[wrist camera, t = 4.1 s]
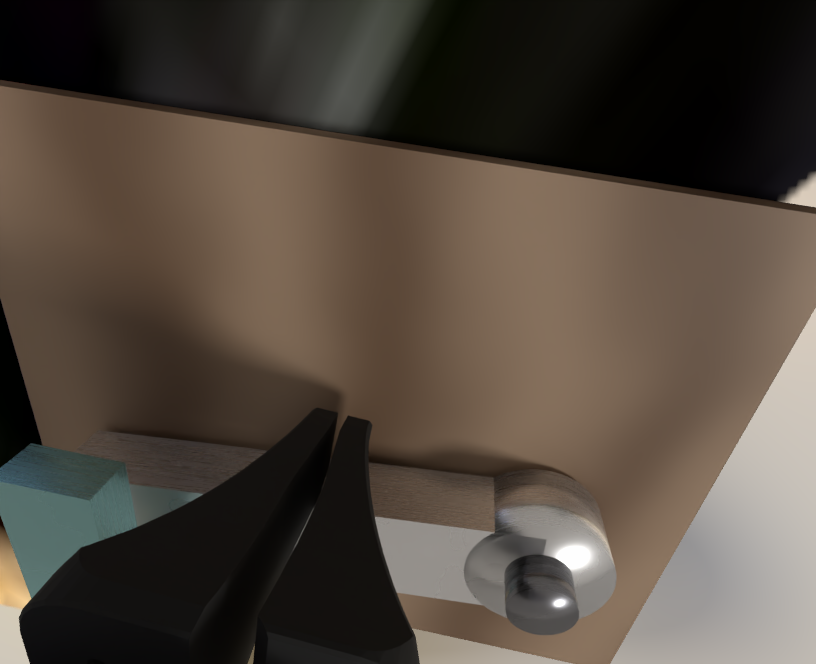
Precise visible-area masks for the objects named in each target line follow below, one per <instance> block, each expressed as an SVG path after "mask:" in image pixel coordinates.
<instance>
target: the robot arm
mask: <svg viewBox="0 0 816 664" xmlns="http://www.w3.org/2000/svg"><path fill="white" fill-rule="evenodd" d="M337 417H338V413H337V412H333V411H329V410H325V409H321V408H318V407H317V408H315V409H313V410H312V411H311V412H310V413H309V414H308V415H307V416H306V417H305V418H304V419H303V420H302V421H301V422H300V423H299V424H298V425H297V426H296V427H295V428H294V429H292V430H291V431H290V432H289V433H288V434H287V435H286V436H285V437H283V438H282V439H281V440H280V441H279V442H277V443H276V444H275V445H274V446H273V447H271V448H270V449H269V450H268V451H267V452H265V453H264V454H263V455H261V456H260V457H259V458H257V459H256V460H255V461H253V462H252V463H251V464H249V465H248V466H247V467H245V468H244V469H243V470H241V471H240V472H238V473H237V474H235V475H234V476H232V477H231V478H229V479H228V480H226V481H225V482H223V483H221V484H220V485H218V486H217V487H215V488H213V489H212V490H210V491H208V492H206V493H205V494H203V495H201V496H199V497H198V498H196V499H194V500H192V501H190V502H189V503H187V504H185V505H183V506H181V507H179V508H177V509H175V510H173V511H171V512H169V513H167V514H164V515H162V516H160V517H158V518H156V519H153V520H151V521H149V522H147V523H145V524H142V525H140V526H138V527H136V528H133V529H131V530H128V531H126V532H123V533H120V534H117V535H115V536H112V537H109V538H106V539H104V540H101V541H98V542H95V543H93V544H90V545H87V546H84V547H81V548H80V549H79V550H78V551H77V552H76V553H75V554H74V555H73V556H72V557H70V558H69V559H68V560H67V561H66V562H65V563H64V564H63V565H62V566H61V567H60V568H59V569H58V570H57V571H56V572H55V573H54V574H53V575H52V576H51V577H50V579H49V580H48V581H47V582H46V583H45V584H44V585H43V587H42V588H41V589H40V590H39V591H38V592H37V593H36V594H35V596H34V597H33V598H32V599H31V600H30V601H29V602H28V604H27V605H26V606H25V607H24V608H23V610H22V612H21V615H20V616H19V623H20V632H21V636H22V639H23V642H24V646H25V649H26V652H27V656H28V659H29V662H30V664H247V663H248V660H249V658H250V655H251V652H252V650H253V647H254V644H255V650H254V662H253V664H420V663H419V656H418V650H417V644H416V637H415V634H414V632H413V630H412V628H411V626H410V624H409V621H408V619H407V617H406V615H405V612H404V610H403V608H402V605H401V603H400V600H399V597H398V595H397V592H396V590H395V587H394V584H393V581H392V578H391V575H390V572H389V569H388V566H387V563H386V560H385V557H384V553H383V550H382V546H381V542H380V538H379V534H378V530H377V525H376V521H375V515H374V510H373V504H372V496H371V489H370V478H369V458H368V455H369V440H370V435H371V430H372V426H373V425H372V424H371V422H370V421H369V420H365V419H361V418H357V417H353V416H349V415H348V416H347V418H346V420H345V422H344V423H343V425H342V427H341V429H340V431H339V435H338V438H337V441H336V445H335V448H334V451H333V455H332V458H331V453H332V447H333V441H334V435H335V429H336V423H337ZM330 459H331V462H330ZM325 478H326V479H325ZM324 480H325V482H324ZM323 483H324V485H323ZM322 486H323V488H322ZM321 489H322V490H321ZM320 492H321V493H320ZM319 494H320V496H319ZM318 497H319V498H318ZM315 504H316V505H315ZM314 506H315V507H314ZM313 508H314V509H313ZM312 510H313V511H312ZM309 517H310V518H309ZM308 519H309V520H308ZM307 521H308V522H307ZM306 523H307V524H306ZM305 525H306V526H305ZM304 527H305V528H304ZM303 529H304V530H303ZM302 531H303V532H302ZM301 533H302V534H301ZM300 535H301V536H300ZM299 537H300V538H299ZM298 539H299V540H298ZM297 541H298V542H297ZM296 543H297V544H296ZM295 545H296V546H295Z"/></svg>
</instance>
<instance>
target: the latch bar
mask: <svg viewBox="0 0 816 664" xmlns="http://www.w3.org/2000/svg"><path fill="white" fill-rule="evenodd" d="M267 451H268V450H261V449H252V448H244V447H235V446H227V445H219V444H210V443H202V442H194V441H185V440H177V439H168V438H160V437H152V436H143V435H135V434H126V433H118V432H110V431H101V430H98V431H97V432H95V433H94V434H93V435H92V436H91V437H90V438H89V439H88V440H87V441H86V442H84V443H83V444H82V445H81V446H80V447H79V448H78V449H77V450H76V451H75V452H76V453H81V454H86V455H91V456H95V457H100V458H105V459H110V460H115V461H120V462H125V464H126V469H127V474H128V480H129V485H130V490H131V495H132V501H133V506H134V511H135V517H136V522H137V527H138V526H140V525H142V524H145V523H147V522H149V521H151V520H153V519H156V518H158V517H160V516H162V515H164V514H167V513H169V512H171V511H173V510H175V509H177V508H179V507H181V506H183V505H185V504H187V503H189V502H190V501H192V500H194V499H196V498H198V497H199V496H201V495H203V494H205V493H206V492H208V491H210V490H212V489H213V488H215V487H217V486H218V485H220V484H221V483H223V482H225V481H226V480H228V479H229V478H231V477H232V476H234V475H235V474H237V473H238V472H240V471H241V470H243V469H244V468H245V467H247V466H248V465H249V464H251V463H252V462H253V461H255V460H256V459H257V458H259V457H260V456H261V455H263V454H264V453H265V452H267ZM330 462H331V459H330ZM369 478H370V489H371V496H372V504H373V510H374V515H375V521H376V525H377V530H378V534H379V538H380V542H381V546H382V550H383V553H384V557H385V560H386V563H387V566H388V569H389V572H390V575H391V578H392V581H393V584H394V587H395V590H396V592H397V593H403V594H410V595H417V596H423V597H430V598H437V599H444V600H450V601H457V602H464V603H471V604H477V605H484V606H485V607H486V608H488V609H490V610H491V611H493V612H495V613H497V614H499V615H501V616H503V617H506V618H508V619H509V621H510V622H511V623H512V624H513V625H514V626H516V627H517V628H519V629H520V630H523V631H525V632H528V633H531V634H536V635H555V634H560V633H563V632H565V631H567V630H569V629H571V628H572V627H573V626H574V625H575V624H576V623H577V621H578V619H581V618H583V617H585V616H588V615H590V614H592V613H593V612H595V611H597V610H598V609H599V608H601V607H602V606H603V605H604V604H605V603H606V602H607V601H608V600H609V598H610V597H611V595H612V594H613V591H614V589H615V586H616V576H617V575H616V570H615V566H614V562H613V558H612V554H611V551H610V547H609V543H608V539H607V535H606V532H605V528H604V524H603V520H602V517H601V513H600V509H599V507H598V504H597V502H596V500H595V498H594V497H593V496H592V494H591V493H590V492H589V491H588V490H587V489H586V488H585V487H584V486H583V485H581V484H580V483H578V482H577V481H575V480H573V479H571V478H569V477H567V476H565V475H562V474H559V473H556V472H552V471H546V470H538V469H523V470H515V471H510V472H506V473H503V474H500V475H497V476H495V477H487V476H479V475H470V474H462V473H453V472H445V471H437V470H428V469H420V468H412V467H403V466H395V465H386V464H378V463H370V462H369ZM325 479H326V478H325ZM324 482H325V480H324ZM323 485H324V483H323ZM322 488H323V486H322ZM321 490H322V489H321ZM320 493H321V492H320ZM319 496H320V494H319ZM318 498H319V497H318ZM315 505H316V504H315ZM314 507H315V506H314ZM313 509H314V508H313ZM312 511H313V510H312ZM309 518H310V517H309ZM308 520H309V519H308ZM307 522H308V521H307ZM306 524H307V523H306ZM305 526H306V525H305ZM304 528H305V527H304ZM303 530H304V529H303ZM302 532H303V531H302ZM301 534H302V533H301ZM300 536H301V535H300ZM299 538H300V537H299ZM298 540H299V539H298ZM297 542H298V541H297ZM296 544H297V543H296ZM295 546H296V545H295Z"/></svg>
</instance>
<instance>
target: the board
mask: <svg viewBox="0 0 816 664" xmlns="http://www.w3.org/2000/svg"><path fill="white" fill-rule="evenodd" d="M0 299H1V302H2V306H3V309H4V313H5V316H6V320H7V323H8V327H9V330H10V333H11V337H12V340H13V344H14V347H15V351H16V354H17V358H18V361H19V365H20V368H21V372H22V375H23V378H24V382H25V385H26V389H27V392H28V396H29V399H30V403H31V406H32V410H33V413H34V417H35V420H36V423H37V427H38V430H39V434H40V437H41V441H42V444H43V446H47V447H52V448H57V449H61V450H66V451H71V452H75V451H76V450H77V449H78V448H79V447H80V446H81V445H82V444H83V443H84V442H86V441H87V440H88V439H89V438H90V437H91V436H92V435H93V434H94V433H95V432H97V431H98V430H101V431H110V432H118V433H126V434H135V435H143V436H152V437H160V438H168V439H177V440H185V441H194V442H202V443H210V444H219V445H227V446H235V447H244V448H252V449H261V450H269V449H270V448H271V447H273V446H274V445H275V444H276V443H277V442H279V441H280V440H281V439H282V438H283V437H285V436H286V435H287V434H288V433H289V432H290V431H291V430H292V429H294V428H295V427H296V426H297V425H298V424H299V423H300V422H301V421H302V420H303V419H304V418H305V417H306V416H307V415H308V414H309V413H310V412H311V411H312V410H313V409H315V408H317V407H318V408H321V409H325V410H329V411H333V412H337V413H338V417H337V423H336V429H335V435H334V441H333V447H332V453H331V458H332V455H333V451H334V448H335V445H336V441H337V438H338V435H339V431H340V429H341V427H342V425H343V423H344V422H345V420H346V418H347V416H348V415H349V416H353V417H357V418H361V419H365V420H369V421H370V422H371V424H372V425H373V426H372V430H371V435H370V440H369V455H368V458H369V462H370V463H378V464H386V465H395V466H403V467H412V468H420V469H428V470H437V471H445V472H453V473H462V474H470V475H479V476H487V477H495V476H497V475H500V474H503V473H506V472H510V471H515V470H523V469H538V470H546V471H552V472H556V473H559V474H562V475H565V476H567V477H569V478H571V479H573V480H575V481H577V482H578V483H580V484H581V485H583V486H584V487H585V488H586V489H587V490H588V491H589V492H590V493H591V494H592V496H593V497H594V498H595V500H596V502H597V504H598V507H599V509H600V513H601V517H602V520H603V524H604V528H605V532H606V535H607V539H608V543H609V547H610V551H611V554H612V558H613V562H614V566H615V570H616V575H617V576H616V586H615V589H614V591H613V594H612V595H611V597H610V598H609V600H608V601H607V602H606V603H605V604H604V605H603V606H602V607H601V608H599V609H598V610H597V611H595V612H593V613H592V614H590V615H588V616H585V617H583V618H581V619H578V621H577V623H576V624H575V625H574V626H573V627H572V628H571V629H569V630H567V631H565V632H563V633H560V634H555V635H536V634H531V633H528V632H525V631H523V630H520V629H519V628H517V627H516V626H514V625H513V624H512V623H511V622H510V621H509V619H508V618H506V617H503V616H501V615H499V614H497V613H495V612H493V611H491V610H490V609H488V608H486V607H485V606H484V605H477V604H471V603H464V602H457V601H450V600H444V599H437V598H430V597H423V596H417V595H410V594H403V593H397V595H398V597H399V600H400V603H401V605H402V608H403V610H404V612H405V615H406V617H407V619H408V621H409V624H410V626H411V628H414V629H419V630H423V631H428V632H433V633H437V634H442V635H447V636H450V637H455V638H460V639H464V640H469V641H473V642H478V643H483V644H487V645H492V646H496V647H501V648H505V649H510V650H514V651H519V652H523V653H528V654H532V655H537V656H542V657H546V658H551V659H555V660H560V661H564V662H569V663H573V664H610V663H611V661H612V659H613V657H614V656H615V654H616V652H617V651H618V649H619V647H620V646H621V644H622V642H623V640H624V639H625V637H626V635H627V633H628V632H629V630H630V628H631V626H632V625H633V623H634V621H635V619H636V618H637V616H638V614H639V613H640V611H641V609H642V607H643V606H644V604H645V602H646V600H647V599H648V597H649V595H650V594H651V592H652V590H653V588H654V587H655V585H656V583H657V581H658V580H659V578H660V576H661V574H662V573H663V571H664V569H665V567H666V566H667V564H668V562H669V561H670V559H671V557H672V555H673V554H674V552H675V550H676V548H677V547H678V545H679V543H680V541H681V540H682V538H683V536H684V535H685V533H686V531H687V529H688V528H689V526H690V524H691V522H692V521H693V519H694V517H695V515H696V514H697V512H698V510H699V509H700V507H701V505H702V503H703V502H704V500H705V498H706V496H707V495H708V493H709V491H710V489H711V488H712V486H713V484H714V483H715V481H716V479H717V477H718V476H719V474H720V472H721V470H722V469H723V467H724V465H725V464H726V462H727V460H728V458H729V457H730V455H731V453H732V451H733V450H734V448H735V446H736V444H737V443H738V441H739V439H740V438H741V436H742V434H743V432H744V431H745V429H746V427H747V425H748V423H749V422H750V420H751V418H752V417H753V415H754V413H755V412H756V410H757V408H758V406H759V405H760V403H761V401H762V399H763V398H764V396H765V394H766V392H767V391H768V389H769V387H770V385H771V384H772V382H773V380H774V379H775V377H776V375H777V373H778V372H779V370H780V368H781V366H782V364H783V363H784V361H785V359H786V358H787V356H788V354H789V352H790V351H791V349H792V347H793V346H794V344H795V342H796V340H797V339H798V337H799V335H800V333H801V332H802V330H803V328H804V327H805V325H806V323H807V321H808V320H809V318H810V316H811V314H812V313H813V311H814V309H815V308H816V208H815V207H809V206H802V205H796V204H790V203H783V202H777V201H771V200H764V199H758V198H751V197H745V196H739V195H732V194H726V193H719V192H713V191H707V190H700V189H694V188H687V187H681V186H675V185H668V184H662V183H656V182H649V181H643V180H636V179H630V178H624V177H617V176H611V175H604V174H598V173H592V172H585V171H579V170H572V169H566V168H560V167H553V166H547V165H540V164H534V163H528V162H521V161H515V160H508V159H502V158H496V157H489V156H483V155H476V154H470V153H464V152H457V151H451V150H444V149H438V148H432V147H425V146H419V145H412V144H406V143H400V142H393V141H387V140H380V139H374V138H368V137H361V136H355V135H348V134H342V133H336V132H329V131H323V130H316V129H310V128H304V127H297V126H291V125H284V124H278V123H272V122H265V121H259V120H252V119H246V118H240V117H233V116H227V115H221V114H214V113H208V112H201V111H195V110H189V109H182V108H176V107H169V106H163V105H157V104H150V103H144V102H137V101H131V100H125V99H118V98H112V97H105V96H99V95H93V94H86V93H80V92H73V91H67V90H61V89H54V88H48V87H41V86H35V85H29V84H22V83H16V82H9V81H3V80H0Z"/></svg>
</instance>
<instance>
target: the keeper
mask: <svg viewBox="0 0 816 664" xmlns="http://www.w3.org/2000/svg"><path fill="white" fill-rule="evenodd" d="M0 515H1V518H2V521H3V523H4V526H5V529H6V531H7V534H8V537H9V539H10V542H11V545H12V548H13V550H14V553H15V556H16V558H17V561H18V564H19V566H20V569H21V572H22V574H23V577H24V580H25V582H26V585H27V588H28V590H29V593H30V596H31V598H33V597H34V596H35V594H36V593H37V592H38V591H39V590H40V589H41V588H42V587H43V585H44V584H45V583H46V582H47V581H48V580H49V579H50V577H51V576H52V575H53V574H54V573H55V572H56V571H57V570H58V569H59V568H60V567H61V566H62V565H63V564H64V563H65V562H66V561H67V560H68V559H69V558H70V557H72V556H73V555H74V554H75V553H76V552H77V551H78V550H79V549H80V548H81V547H84V546H87V545H90V544H93V543H95V542H98V541H101V540H104V539H106V538H109V537H112V536H115V535H117V534H120V533H123V532H126V531H128V530H131V529H133V528H136V527H137V522H136V517H135V511H134V506H133V501H132V495H131V490H130V485H129V480H128V474H127V469H126V464H125V462H120V461H115V460H110V459H105V458H100V457H95V456H91V455H86V454H81V453H76V452H71V451H66V450H61V449H57V448H52V447H47V446H42V445H37V444H32V443H31V444H30V445H28V446H27V447H26V448H25V449H24V450H22V451H21V452H20V453H19V454H17V455H16V456H15V457H14V458H12V459H11V460H10V461H9V462H7V463H6V464H5V465H4V466H2V467H1V468H0Z"/></svg>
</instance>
